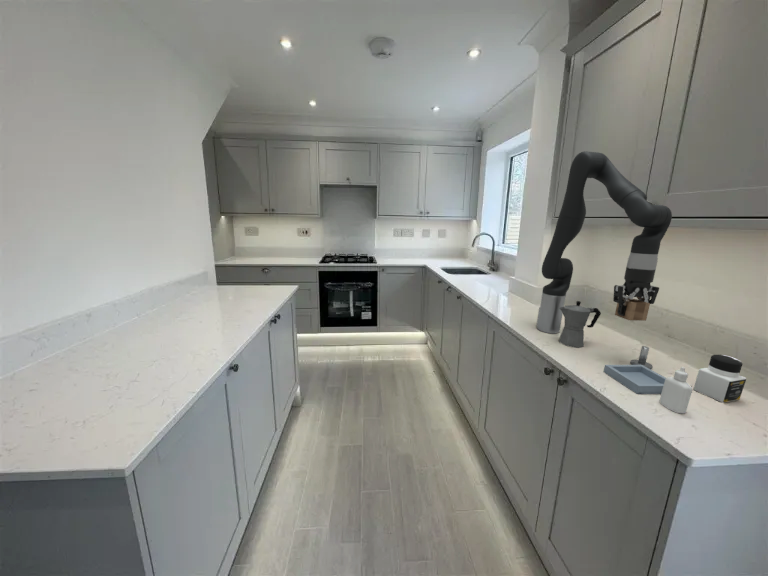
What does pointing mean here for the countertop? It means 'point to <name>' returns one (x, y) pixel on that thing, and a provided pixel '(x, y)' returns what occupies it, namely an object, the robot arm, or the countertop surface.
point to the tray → (637, 378)
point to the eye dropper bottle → (676, 392)
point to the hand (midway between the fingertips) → (630, 315)
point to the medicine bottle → (721, 379)
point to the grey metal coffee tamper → (642, 358)
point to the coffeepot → (576, 324)
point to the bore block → (635, 310)
